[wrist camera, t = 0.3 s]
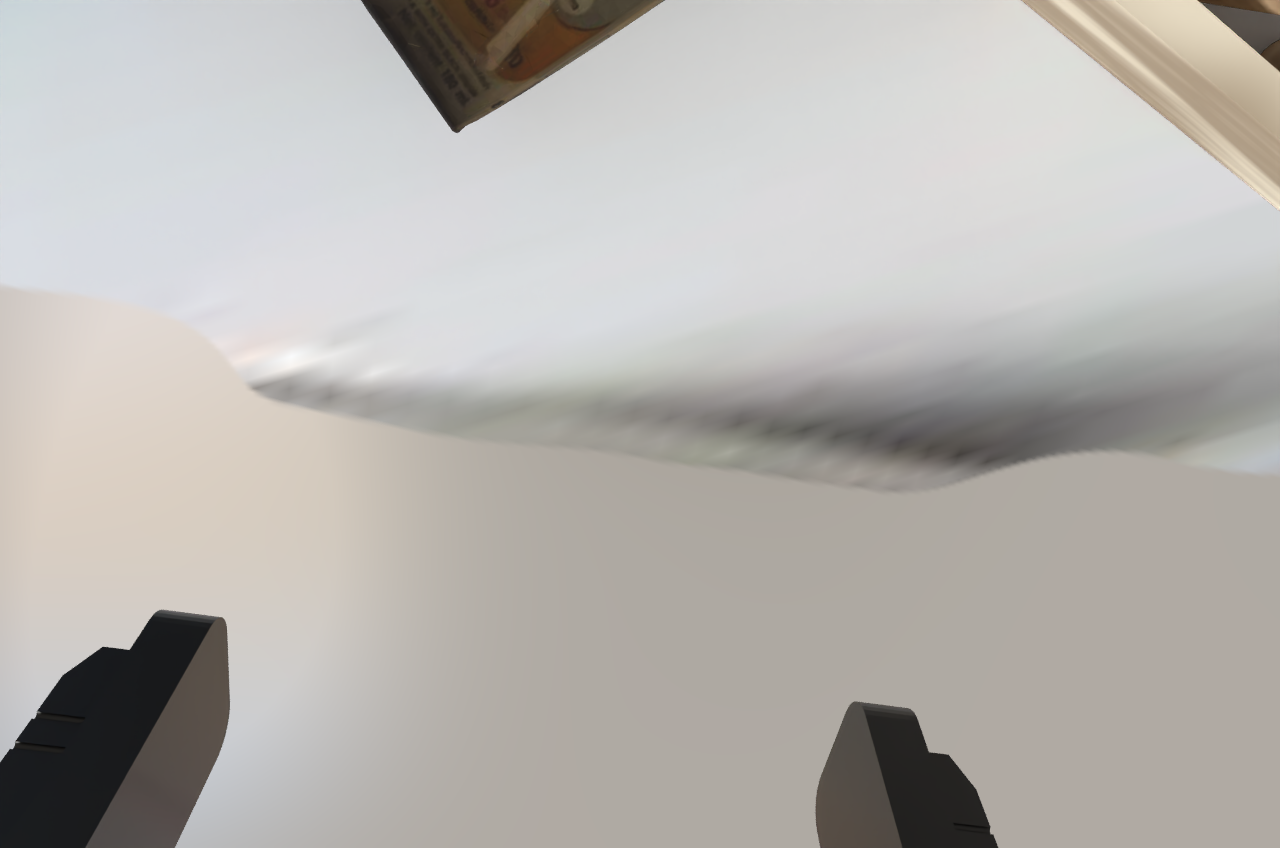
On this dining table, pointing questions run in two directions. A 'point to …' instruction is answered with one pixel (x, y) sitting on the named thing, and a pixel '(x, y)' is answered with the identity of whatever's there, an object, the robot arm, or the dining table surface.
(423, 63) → the beverage carton
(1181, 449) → the dining table surface
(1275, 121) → the peg cradle
